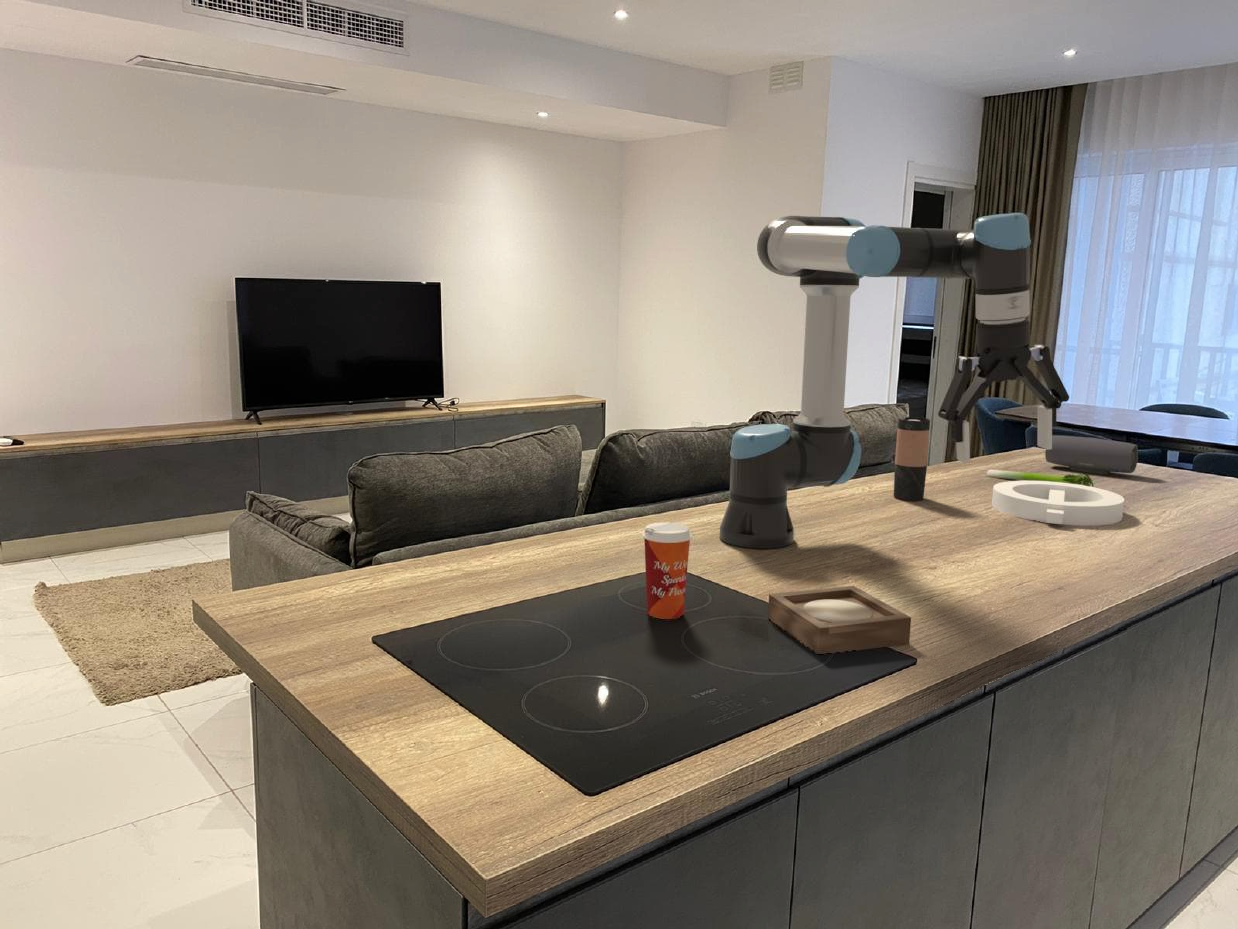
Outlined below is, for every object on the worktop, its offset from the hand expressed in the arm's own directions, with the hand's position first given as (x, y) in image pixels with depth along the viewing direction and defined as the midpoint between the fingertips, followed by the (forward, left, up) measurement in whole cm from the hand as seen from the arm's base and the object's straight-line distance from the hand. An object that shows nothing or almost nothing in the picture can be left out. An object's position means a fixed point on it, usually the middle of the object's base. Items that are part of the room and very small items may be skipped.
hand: (1004, 454), depth 142 cm
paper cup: (-12, -52, -25) cm, 59 cm away
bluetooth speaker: (-89, +111, -25) cm, 145 cm away
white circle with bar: (-52, +63, -26) cm, 86 cm away
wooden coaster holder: (+2, -30, -25) cm, 39 cm away
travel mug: (-73, +37, -25) cm, 86 cm away
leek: (-77, +81, -26) cm, 115 cm away
